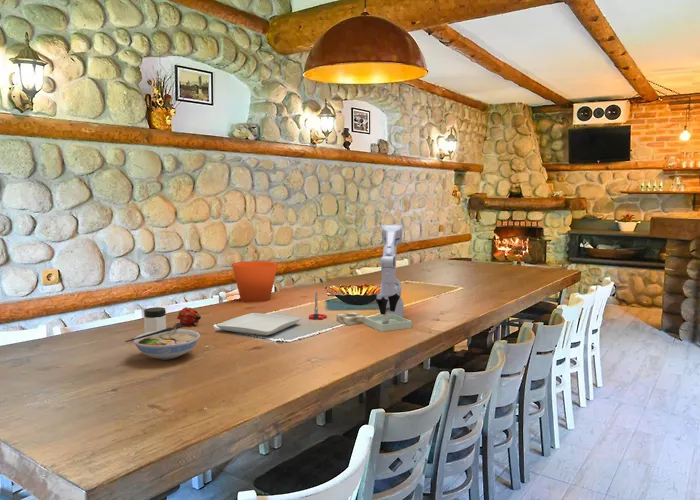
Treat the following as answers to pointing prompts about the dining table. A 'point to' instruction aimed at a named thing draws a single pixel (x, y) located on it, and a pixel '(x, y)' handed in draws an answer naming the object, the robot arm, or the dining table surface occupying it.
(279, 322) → the square plate
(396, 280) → the robot arm
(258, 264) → the flowerpot
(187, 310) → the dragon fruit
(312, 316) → the tow hook
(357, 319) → the pin block
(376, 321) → the tray
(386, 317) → the steel pin
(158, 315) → the jar
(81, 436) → the dining table surface
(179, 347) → the ramen bowl
